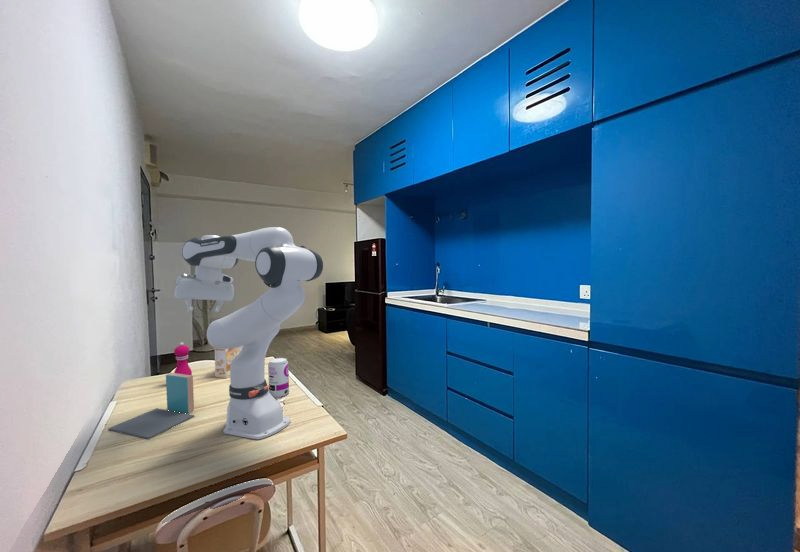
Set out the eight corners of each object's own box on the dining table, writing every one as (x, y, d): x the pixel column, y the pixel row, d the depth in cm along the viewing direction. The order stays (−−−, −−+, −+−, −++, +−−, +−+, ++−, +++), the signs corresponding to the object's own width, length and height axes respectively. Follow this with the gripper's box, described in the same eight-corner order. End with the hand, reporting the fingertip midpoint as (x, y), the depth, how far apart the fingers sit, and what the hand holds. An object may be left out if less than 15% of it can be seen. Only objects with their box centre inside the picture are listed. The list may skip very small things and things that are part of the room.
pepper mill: (195, 381, 157) (194, 340, 156) (184, 386, 150) (182, 344, 149) (182, 380, 158) (180, 340, 157) (170, 386, 150) (168, 344, 150)
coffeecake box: (227, 378, 160) (225, 339, 159) (214, 377, 161) (213, 339, 161) (247, 368, 175) (245, 333, 174) (235, 368, 176) (234, 332, 175)
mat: (156, 409, 126) (156, 408, 126) (194, 416, 120) (194, 415, 120) (108, 430, 111) (108, 428, 111) (149, 439, 104) (149, 437, 104)
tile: (173, 407, 128) (172, 372, 127) (194, 411, 124) (192, 375, 124) (167, 410, 125) (165, 374, 125) (188, 414, 122) (186, 377, 121)
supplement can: (291, 390, 144) (290, 357, 143) (285, 397, 135) (284, 362, 135) (273, 390, 143) (272, 357, 143) (266, 398, 135) (265, 363, 135)
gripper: (179, 273, 116) (174, 311, 115) (237, 279, 132) (233, 312, 131) (174, 273, 121) (169, 310, 119) (231, 278, 136) (227, 311, 135)
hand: (203, 311), depth 125 cm, fingers open, 8 cm apart
